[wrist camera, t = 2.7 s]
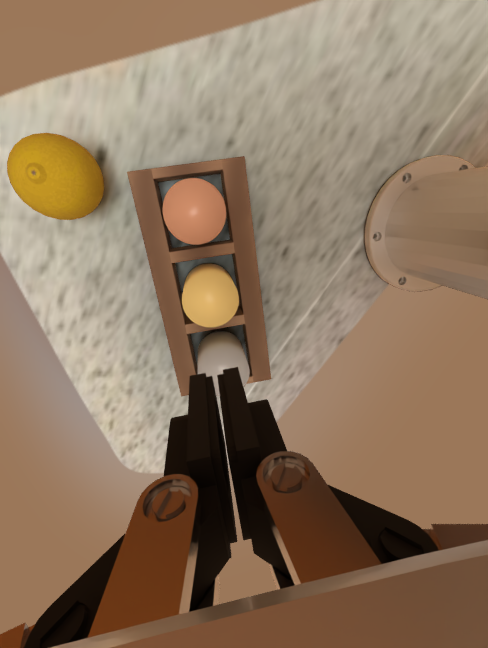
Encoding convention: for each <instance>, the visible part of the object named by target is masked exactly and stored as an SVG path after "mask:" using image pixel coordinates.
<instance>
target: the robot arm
mask: <svg viewBox="0 0 488 648" xmlns="http://www.w3.org/2000/svg"><path fill="white" fill-rule="evenodd" d="M402 178H403V180H402ZM373 235H375V236H374V238H373ZM365 246H366V253H367V256H368V259H369V262H370V264H371V266H372V267H373V269H374V271H375V272H376V273H377V274H378V275H379V276H380V277H381V278H382V280H384V281H385V282H387V283H389V284H390V285H392V286H394V287H397V288H400V289H403V290H407V291H420V292H421V291H427V290H432V289H434V288H437V287H440V286H446V287H449V288H452V289H456V290H459V291H462V292H465V293H469V294H472V295H475V296H478V297H482V298H485V299H488V166H486V167H479V168H475V167H474V166H473V165H472V164H471V163H470V162H468V161H466V160H464V159H462V158H460V157H455V156H451V155H435V156H430V157H426V158H422V159H419V160H417V161H414V162H411V163H410V164H408V165H406V166H405V167H403V168H401V169H400V170H399V171H397V172H396V173H395V174H394V175H393V176H392V177H390V178H389V180H388V181H387V182H386V183H385V184H384V186H383V187H382V188H381V189H380V191H379V193H378V194H377V196H376V198H375V199H374V201H373V203H372V206H371V208H370V211H369V213H368V217H367V222H366V226H365ZM217 378H218V385H219V393H220V401H221V408H222V416H223V423H224V431H225V439H226V446H227V453H228V459H229V465H230V470H231V475H232V481H233V486H234V492H235V497H236V502H237V508H238V513H239V519H240V524H241V529H242V535H243V540H247V539H252V545H253V551H254V553H255V554H256V555H257V556H259V557H260V558H262V559H263V560H265V561H266V562H268V563H269V565H270V570H271V574H272V577H273V579H274V582H275V585H276V588H277V590H275V591H271V592H267V593H263V594H259V595H255V596H251V597H247V598H243V599H239V600H235V601H231V602H227V603H223V604H219V605H218V601H219V585H220V584H219V575H218V574H219V573H220V571H221V570H222V568H223V567H224V566H225V564H226V563H227V561H228V560H229V558H231V549H230V543H234V542H237V535H236V527H235V519H234V511H233V503H232V496H231V488H230V479H229V471H228V463H227V455H226V448H225V441H224V436H223V430H222V425H221V420H220V414H219V409H218V403H217V398H216V393H215V387H214V382H213V377H212V376H208V377H206V373H202V374H196V375H191V376H190V378H189V406H188V415H184V416H179V417H174V418H171V421H170V428H169V436H168V445H167V453H166V461H165V470H164V477H162V478H160V479H157V480H156V481H154V482H153V483H152V484H150V485H149V486H148V487H147V488H146V489H145V490H144V491H143V492H142V494H141V496H140V497H139V499H138V501H137V504H136V506H135V509H134V512H133V515H132V517H131V520H130V523H129V525H128V528H127V531H126V534H124V535H123V536H122V537H121V538H120V539H119V540H118V541H117V542H116V543H115V544H114V545H113V546H112V547H111V548H110V549H109V550H108V551H107V552H106V553H104V554H103V555H102V556H101V557H100V558H99V559H98V560H97V561H96V562H95V563H94V564H93V565H92V566H91V567H90V568H89V569H88V570H87V571H86V572H85V573H84V574H83V575H82V576H81V577H80V578H79V579H78V580H77V581H76V582H74V583H73V584H72V585H71V586H70V588H68V589H67V590H66V591H65V592H64V593H63V594H62V595H61V596H60V597H59V598H58V599H57V600H56V601H55V602H54V603H53V604H52V605H51V606H50V607H49V608H48V609H47V610H46V611H45V612H44V614H43V615H42V616H41V617H40V618H39V619H38V621H37V622H36V624H35V625H33V626H31V627H28V626H27V624H26V623H23V624H21V625H19V626H17V627H14V628H13V629H10V630H8V631H6V632H4V633H2V634H0V648H488V524H431V528H430V529H421V528H420V527H419V526H417V525H416V524H414V523H412V522H410V521H409V520H406V519H404V518H402V517H400V516H398V515H395V514H393V513H391V512H388V511H386V510H384V509H382V508H379V507H377V506H375V505H373V504H370V503H368V502H366V501H364V500H361V499H359V498H357V497H354V496H352V495H350V494H348V493H345V492H343V491H341V490H339V489H336V488H334V487H332V486H330V485H327V483H326V482H325V480H324V479H323V478H322V476H321V475H320V473H319V472H318V470H317V469H316V467H315V466H314V464H313V463H312V462H311V461H310V460H309V459H308V458H307V457H305V456H303V455H301V454H299V453H296V452H291V451H287V449H286V447H285V444H284V442H283V439H282V436H281V434H280V431H279V428H278V426H277V423H276V420H275V418H274V415H273V413H272V410H271V407H270V405H269V402H268V400H267V399H266V400H261V401H256V402H251V403H248V402H247V399H246V395H245V391H244V388H243V384H242V380H241V377H240V373H239V369H238V367H235V368H229V369H224V370H223V374H219V375H217Z"/></svg>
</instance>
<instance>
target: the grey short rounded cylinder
mask: <svg viewBox="0 0 488 648" xmlns="http://www.w3.org/2000/svg"><path fill="white" fill-rule="evenodd" d="M235 367H238V369H239V373H240V377H241V380H242V384H243V387H244V386H245V385H246V383H247V381H248V379H249V374H250V370H249V365H248V362H247V359H246V356H245V353H244V350H243V347H242V344H241V342H240V340H239V339H238V338H237V337H236V336H235V335H234V334H232V333H229V332H226V331H216V332H213V333H210V334H208V335H207V336H206V337H205V338H203V340H202V341H201V342H200V344H199V347H198V374H202V373H206V377H208V376H212V377H213V382H214V387H215V393H216V396H220V393H219V385H218V378H217V375H219V374H223V370H224V369H229V368H235Z"/></svg>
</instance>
